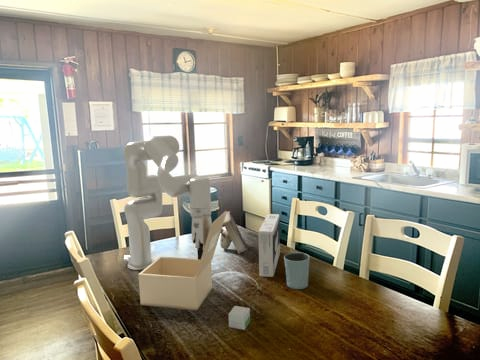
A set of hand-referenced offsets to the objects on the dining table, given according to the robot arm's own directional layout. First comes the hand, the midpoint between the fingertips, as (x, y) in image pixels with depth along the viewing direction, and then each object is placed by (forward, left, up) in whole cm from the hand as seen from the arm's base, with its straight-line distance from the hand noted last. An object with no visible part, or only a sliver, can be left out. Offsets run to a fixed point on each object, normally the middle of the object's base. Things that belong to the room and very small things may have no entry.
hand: (202, 258), depth 137 cm
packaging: (+19, +39, -16) cm, 46 cm away
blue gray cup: (+33, +18, -16) cm, 41 cm away
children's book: (-3, +55, -16) cm, 57 cm away
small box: (+17, -15, -16) cm, 28 cm away
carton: (-11, 0, -16) cm, 19 cm away
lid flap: (+4, 0, +7) cm, 7 cm away
